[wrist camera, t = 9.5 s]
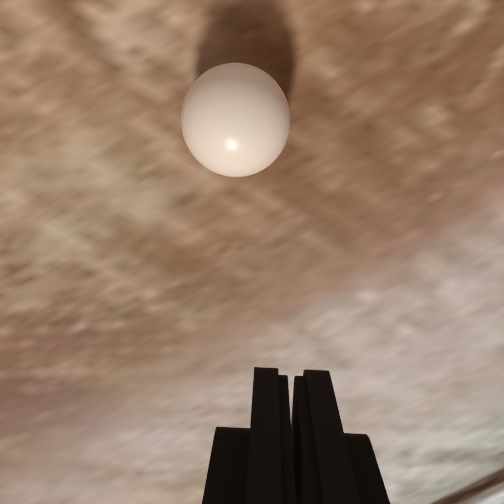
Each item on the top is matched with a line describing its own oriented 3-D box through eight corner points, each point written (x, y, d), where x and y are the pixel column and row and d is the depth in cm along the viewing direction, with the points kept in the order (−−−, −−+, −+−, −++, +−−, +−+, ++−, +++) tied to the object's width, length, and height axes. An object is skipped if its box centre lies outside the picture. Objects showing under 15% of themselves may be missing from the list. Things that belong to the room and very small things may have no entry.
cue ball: (277, 92, 17) (326, 102, 22) (182, 31, 19) (247, 52, 23) (222, 204, 20) (276, 191, 24) (143, 141, 21) (208, 141, 26)
